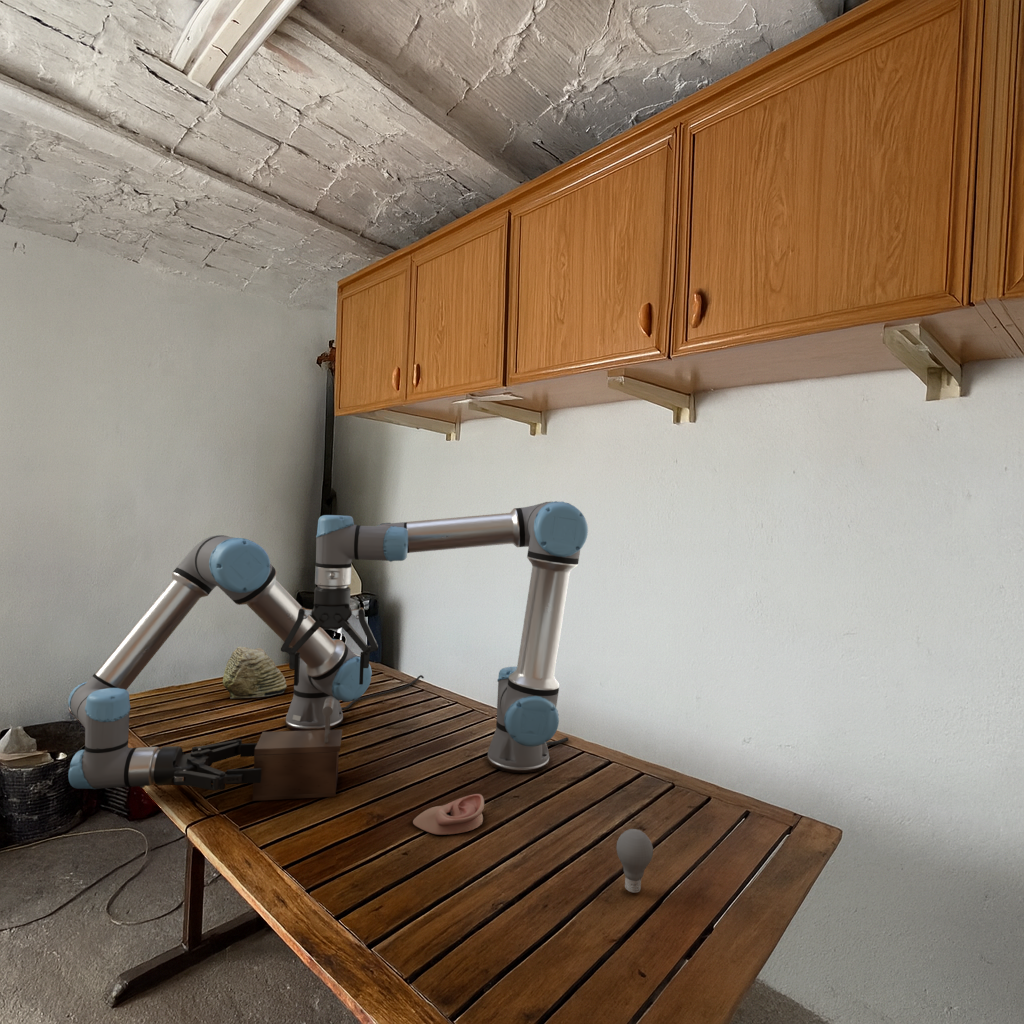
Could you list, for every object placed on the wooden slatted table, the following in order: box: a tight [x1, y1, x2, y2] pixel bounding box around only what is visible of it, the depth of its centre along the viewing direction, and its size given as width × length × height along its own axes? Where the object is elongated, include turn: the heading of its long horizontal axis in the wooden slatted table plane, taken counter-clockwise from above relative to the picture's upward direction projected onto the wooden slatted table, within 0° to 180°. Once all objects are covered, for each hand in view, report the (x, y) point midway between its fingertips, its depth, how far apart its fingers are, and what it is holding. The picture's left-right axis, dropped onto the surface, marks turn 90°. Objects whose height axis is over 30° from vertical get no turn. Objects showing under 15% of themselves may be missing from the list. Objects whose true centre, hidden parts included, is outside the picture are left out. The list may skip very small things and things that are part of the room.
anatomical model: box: [412, 793, 485, 836], centre depth 126 cm, size 13×4×12 cm
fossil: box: [222, 646, 288, 699], centre depth 198 cm, size 9×18×15 cm, turn 132°
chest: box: [252, 752, 340, 802], centre depth 137 cm, size 16×10×10 cm, turn 102°
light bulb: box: [615, 828, 654, 894], centre depth 106 cm, size 6×6×10 cm
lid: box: [254, 698, 343, 755], centre depth 137 cm, size 17×10×9 cm, turn 102°
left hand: (266, 761), depth 136 cm, fingers open, 13 cm apart
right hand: (329, 683), depth 138 cm, fingers open, 13 cm apart
